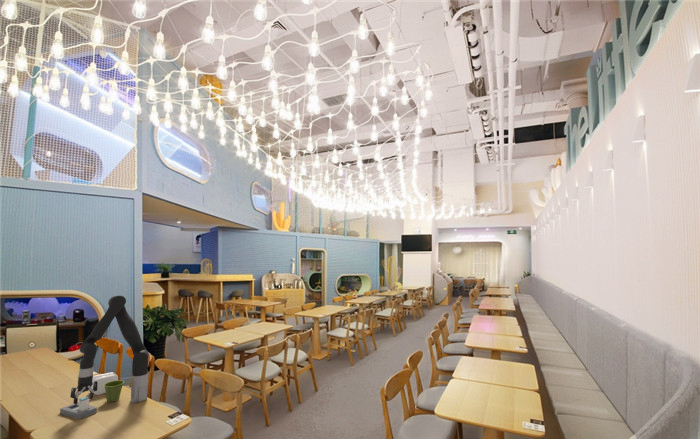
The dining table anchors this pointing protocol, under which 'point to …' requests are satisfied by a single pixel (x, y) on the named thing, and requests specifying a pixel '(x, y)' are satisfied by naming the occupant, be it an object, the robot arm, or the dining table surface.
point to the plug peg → (83, 403)
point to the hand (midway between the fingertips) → (83, 401)
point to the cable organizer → (103, 381)
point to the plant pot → (113, 390)
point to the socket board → (77, 411)
